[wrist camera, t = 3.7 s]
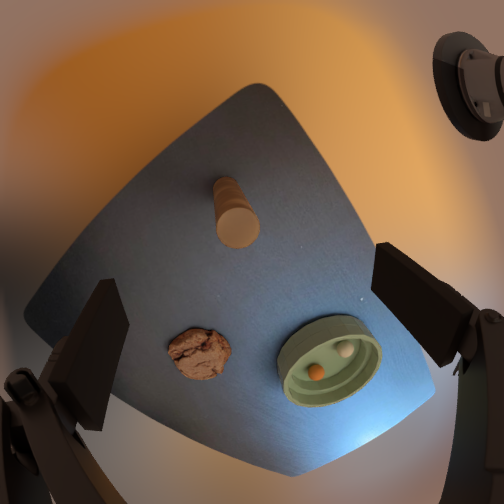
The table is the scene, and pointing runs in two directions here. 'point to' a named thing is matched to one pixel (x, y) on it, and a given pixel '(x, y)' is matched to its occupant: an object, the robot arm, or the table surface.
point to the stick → (234, 215)
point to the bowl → (328, 361)
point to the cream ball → (345, 349)
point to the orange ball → (316, 372)
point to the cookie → (200, 353)
